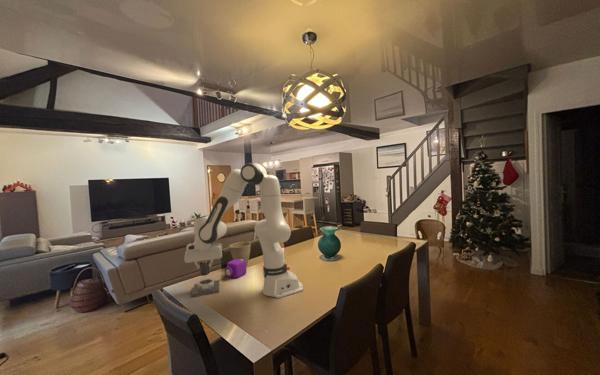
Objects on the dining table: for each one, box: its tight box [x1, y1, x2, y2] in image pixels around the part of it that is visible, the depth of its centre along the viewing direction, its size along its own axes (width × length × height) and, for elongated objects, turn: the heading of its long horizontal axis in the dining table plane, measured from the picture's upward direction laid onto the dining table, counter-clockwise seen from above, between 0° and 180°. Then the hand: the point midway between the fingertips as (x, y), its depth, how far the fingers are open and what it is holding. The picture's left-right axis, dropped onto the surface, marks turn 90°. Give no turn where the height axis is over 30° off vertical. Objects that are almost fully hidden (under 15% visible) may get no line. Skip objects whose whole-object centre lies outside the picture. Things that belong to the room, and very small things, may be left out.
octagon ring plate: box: [191, 278, 220, 298], centre depth 141 cm, size 14×14×4 cm
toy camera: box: [224, 259, 247, 279], centre depth 158 cm, size 11×14×10 cm
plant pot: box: [229, 241, 252, 267], centre depth 176 cm, size 15×15×16 cm
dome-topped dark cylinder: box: [199, 260, 210, 277], centre depth 140 cm, size 5×5×8 cm
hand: (204, 267), depth 140 cm, fingers closed on dome-topped dark cylinder, 5 cm apart
